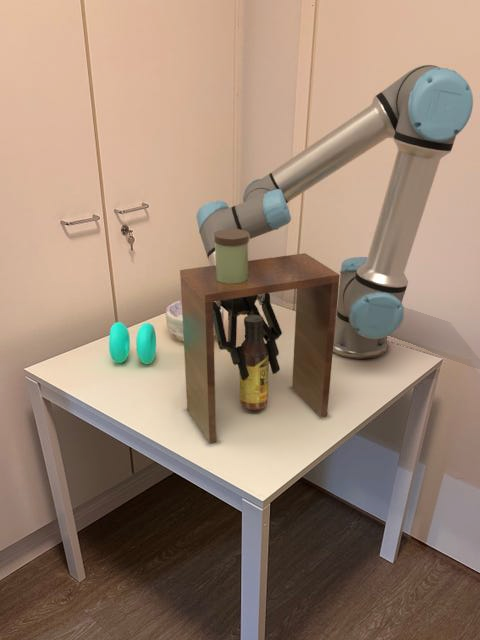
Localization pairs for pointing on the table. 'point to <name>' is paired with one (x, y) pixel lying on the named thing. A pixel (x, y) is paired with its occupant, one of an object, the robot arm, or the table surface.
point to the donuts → (121, 343)
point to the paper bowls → (179, 319)
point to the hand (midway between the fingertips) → (261, 374)
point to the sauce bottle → (254, 365)
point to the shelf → (263, 277)
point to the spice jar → (231, 255)
